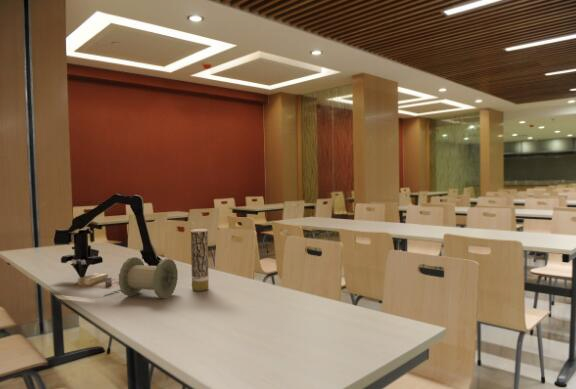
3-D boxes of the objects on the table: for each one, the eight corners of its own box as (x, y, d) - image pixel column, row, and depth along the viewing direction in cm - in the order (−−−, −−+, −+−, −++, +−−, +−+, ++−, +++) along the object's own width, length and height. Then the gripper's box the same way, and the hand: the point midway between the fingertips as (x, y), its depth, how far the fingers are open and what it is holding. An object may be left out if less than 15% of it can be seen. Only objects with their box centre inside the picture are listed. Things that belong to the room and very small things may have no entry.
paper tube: (204, 291, 175) (203, 231, 174) (189, 291, 176) (188, 230, 175) (211, 287, 182) (210, 229, 181) (196, 287, 183) (194, 228, 182)
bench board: (132, 283, 191) (132, 272, 190) (108, 292, 177) (107, 280, 176) (97, 280, 197) (97, 269, 197) (71, 288, 183) (70, 276, 183)
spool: (177, 292, 175) (177, 256, 174) (157, 303, 160) (156, 263, 160) (142, 290, 179) (141, 254, 179) (119, 300, 165) (118, 261, 164)
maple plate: (108, 279, 193) (107, 273, 193) (89, 285, 182) (89, 279, 182) (97, 278, 195) (97, 273, 195) (78, 284, 184) (78, 278, 184)
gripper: (111, 242, 195) (112, 276, 195) (79, 240, 201) (80, 273, 202) (92, 245, 184) (93, 281, 185) (59, 244, 191) (60, 279, 191)
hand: (82, 278), depth 191 cm, fingers closed
